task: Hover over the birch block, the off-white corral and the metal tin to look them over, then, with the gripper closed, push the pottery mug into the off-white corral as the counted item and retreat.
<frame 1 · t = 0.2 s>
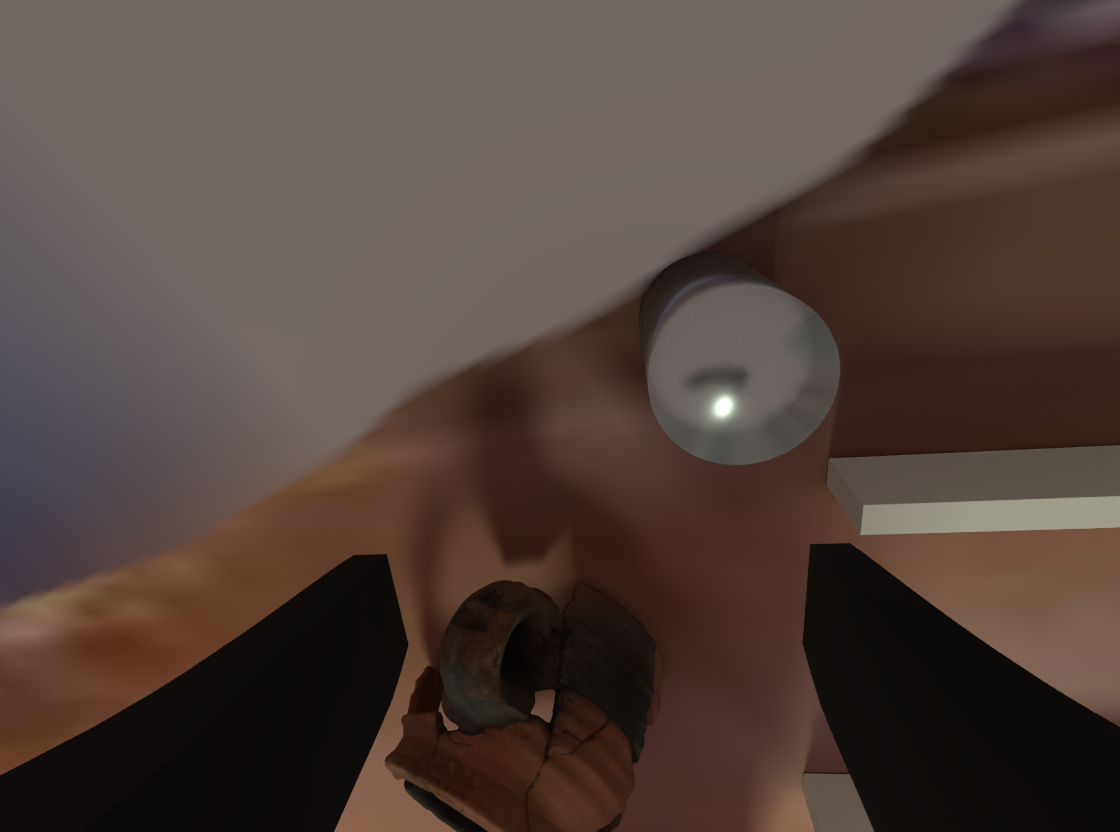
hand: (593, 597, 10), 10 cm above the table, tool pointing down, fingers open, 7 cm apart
metal tin: (704, 319, 18), on the table
pottery mug: (536, 642, 24), on the table
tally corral: (1027, 644, 21), on the table
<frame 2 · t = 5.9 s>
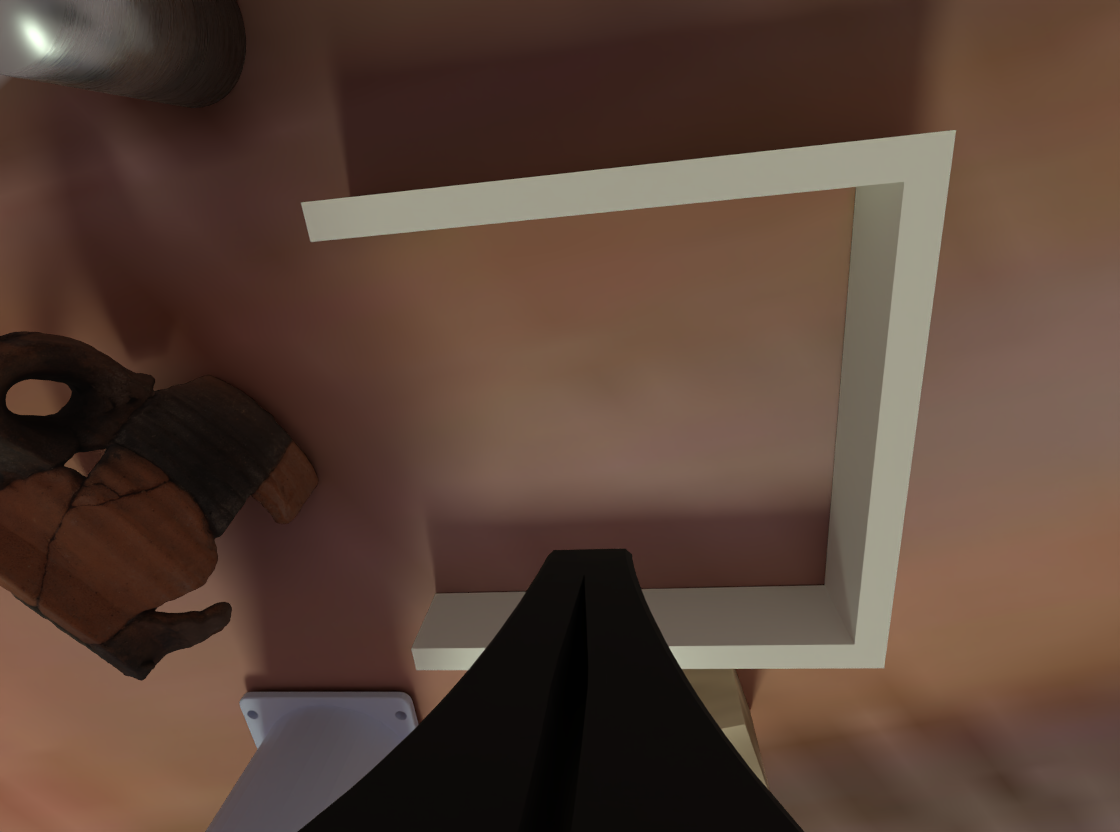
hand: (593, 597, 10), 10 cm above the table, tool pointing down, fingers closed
metal tin: (178, 29, 17), on the table
pottery mug: (192, 455, 22), on the table
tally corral: (609, 423, 20), on the table
birch block: (689, 684, 24), on the table
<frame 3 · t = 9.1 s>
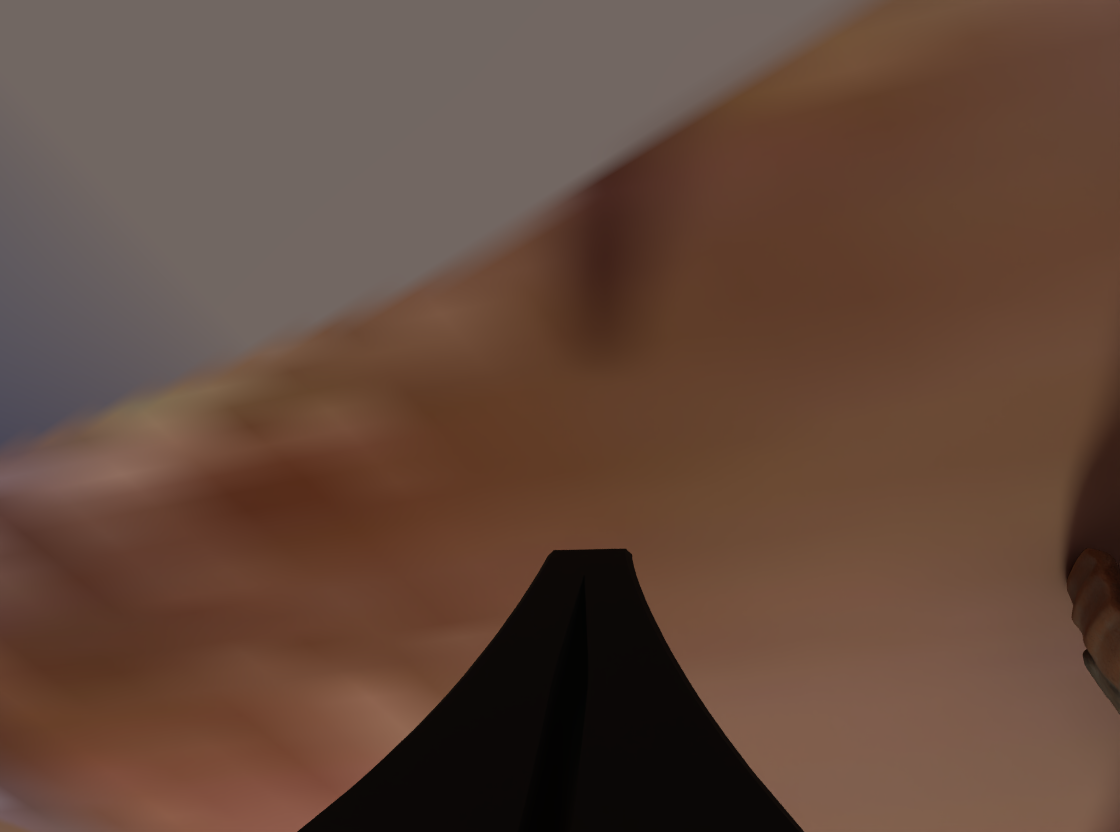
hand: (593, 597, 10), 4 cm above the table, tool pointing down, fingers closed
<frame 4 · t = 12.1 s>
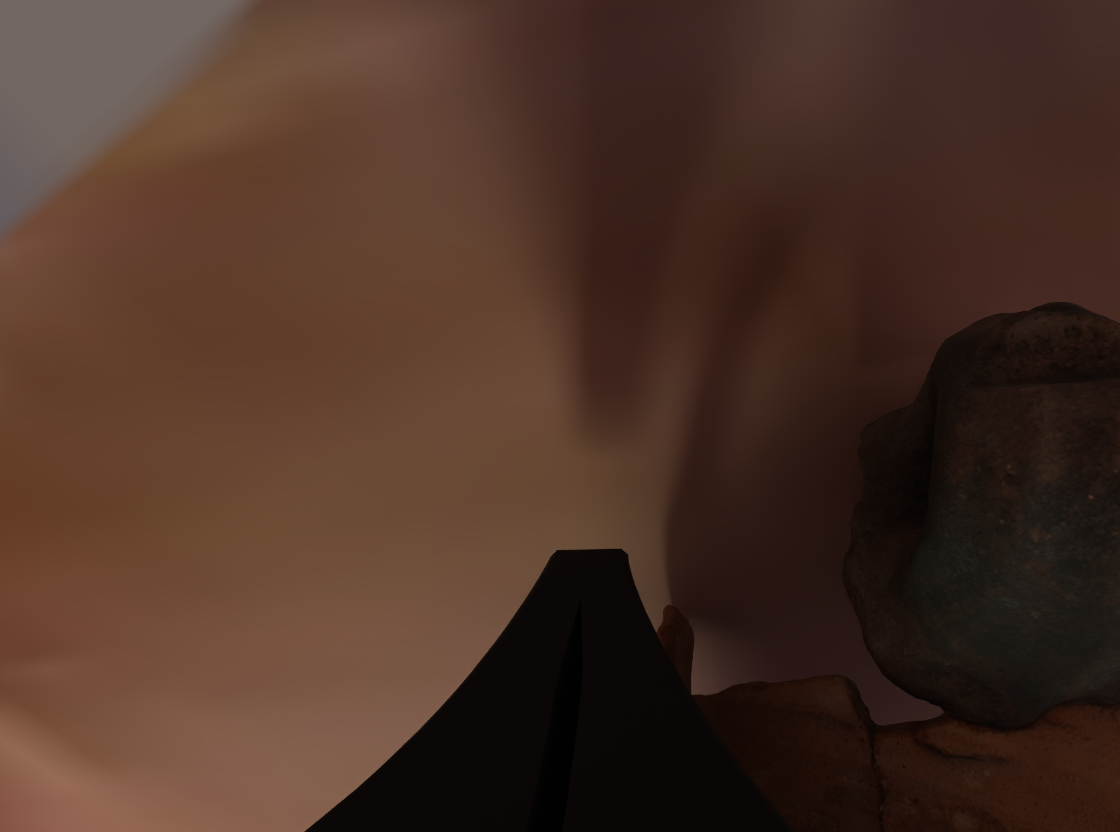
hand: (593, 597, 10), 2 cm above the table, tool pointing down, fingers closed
pottery mug: (882, 547, 12), on the table, touching gripper
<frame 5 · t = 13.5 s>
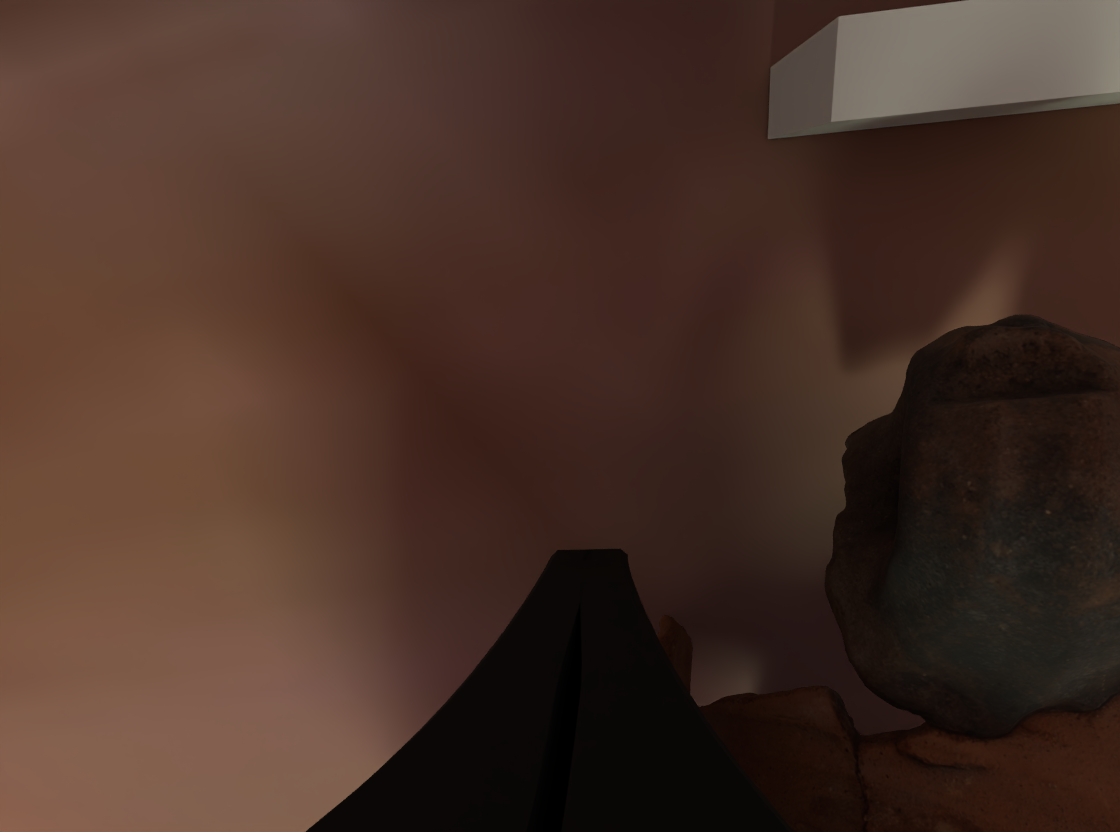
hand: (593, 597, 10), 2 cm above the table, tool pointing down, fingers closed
pottery mug: (876, 551, 12), on the table, touching gripper
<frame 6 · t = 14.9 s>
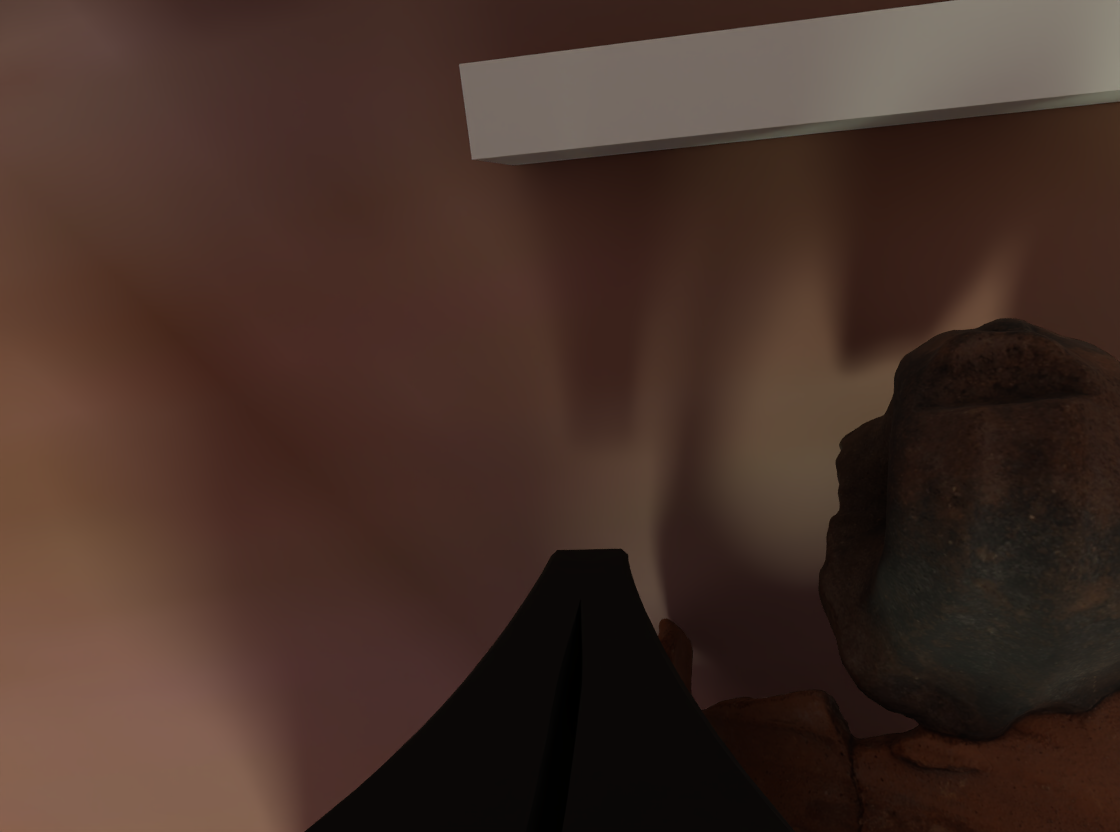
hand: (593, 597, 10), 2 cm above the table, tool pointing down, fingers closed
pottery mug: (874, 551, 12), on the table, touching gripper, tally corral
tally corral: (932, 512, 11), on the table
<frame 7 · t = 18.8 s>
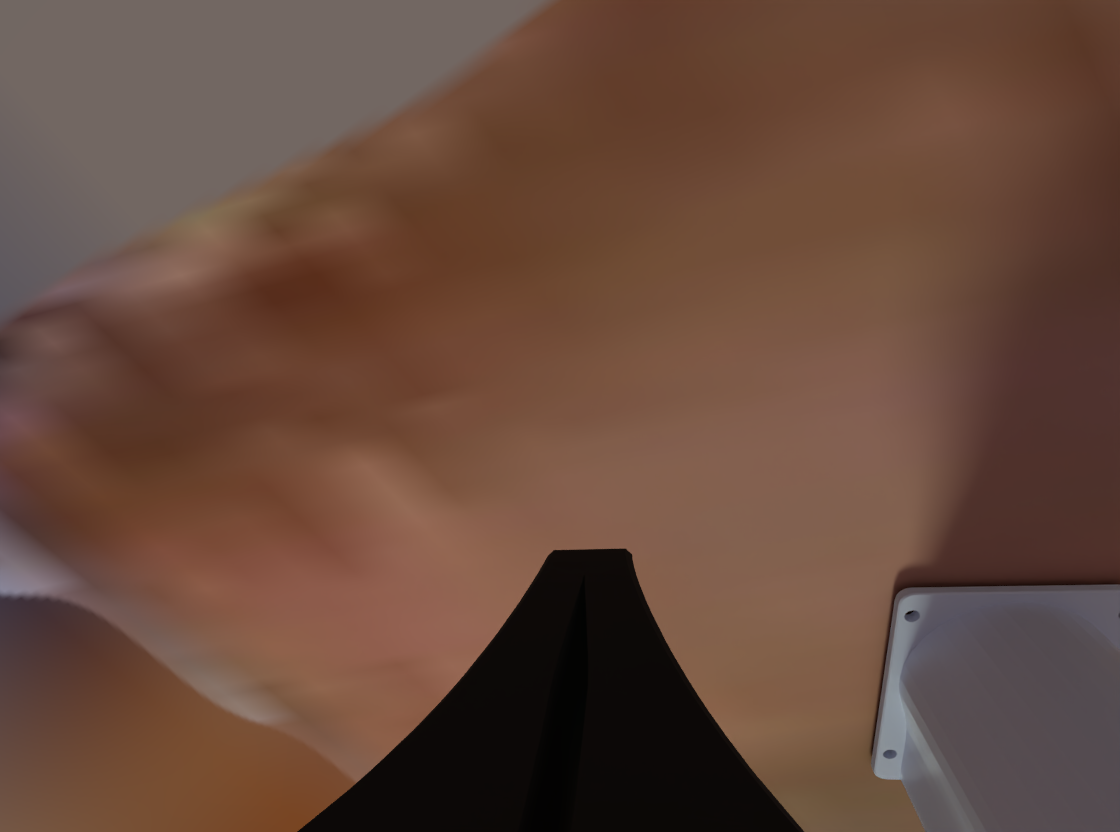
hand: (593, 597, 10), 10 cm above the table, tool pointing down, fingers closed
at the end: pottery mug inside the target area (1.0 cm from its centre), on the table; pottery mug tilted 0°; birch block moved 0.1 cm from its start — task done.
